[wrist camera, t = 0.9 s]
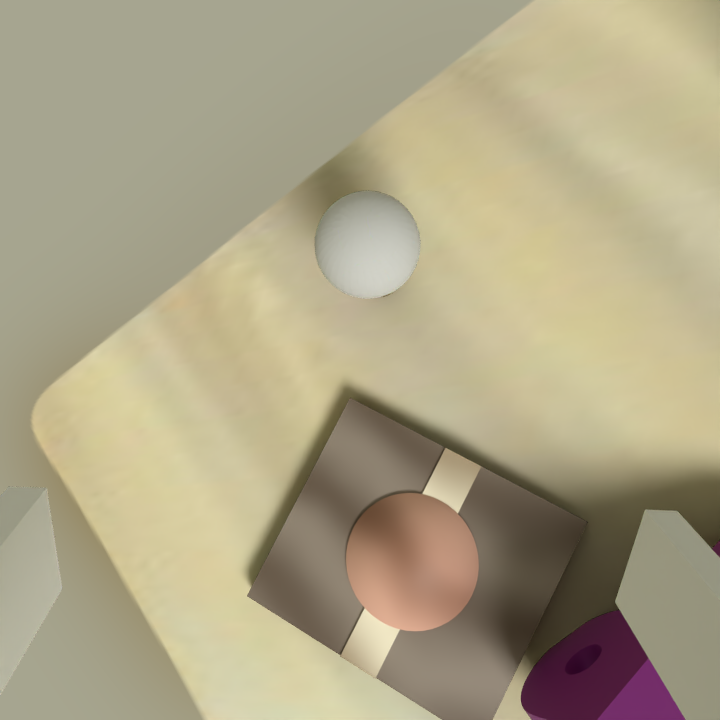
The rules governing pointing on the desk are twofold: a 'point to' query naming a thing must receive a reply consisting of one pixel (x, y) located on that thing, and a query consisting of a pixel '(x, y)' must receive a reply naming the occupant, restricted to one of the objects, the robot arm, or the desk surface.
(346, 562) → the board
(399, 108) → the desk surface
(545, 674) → the mounting bracket
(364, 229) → the light bulb
